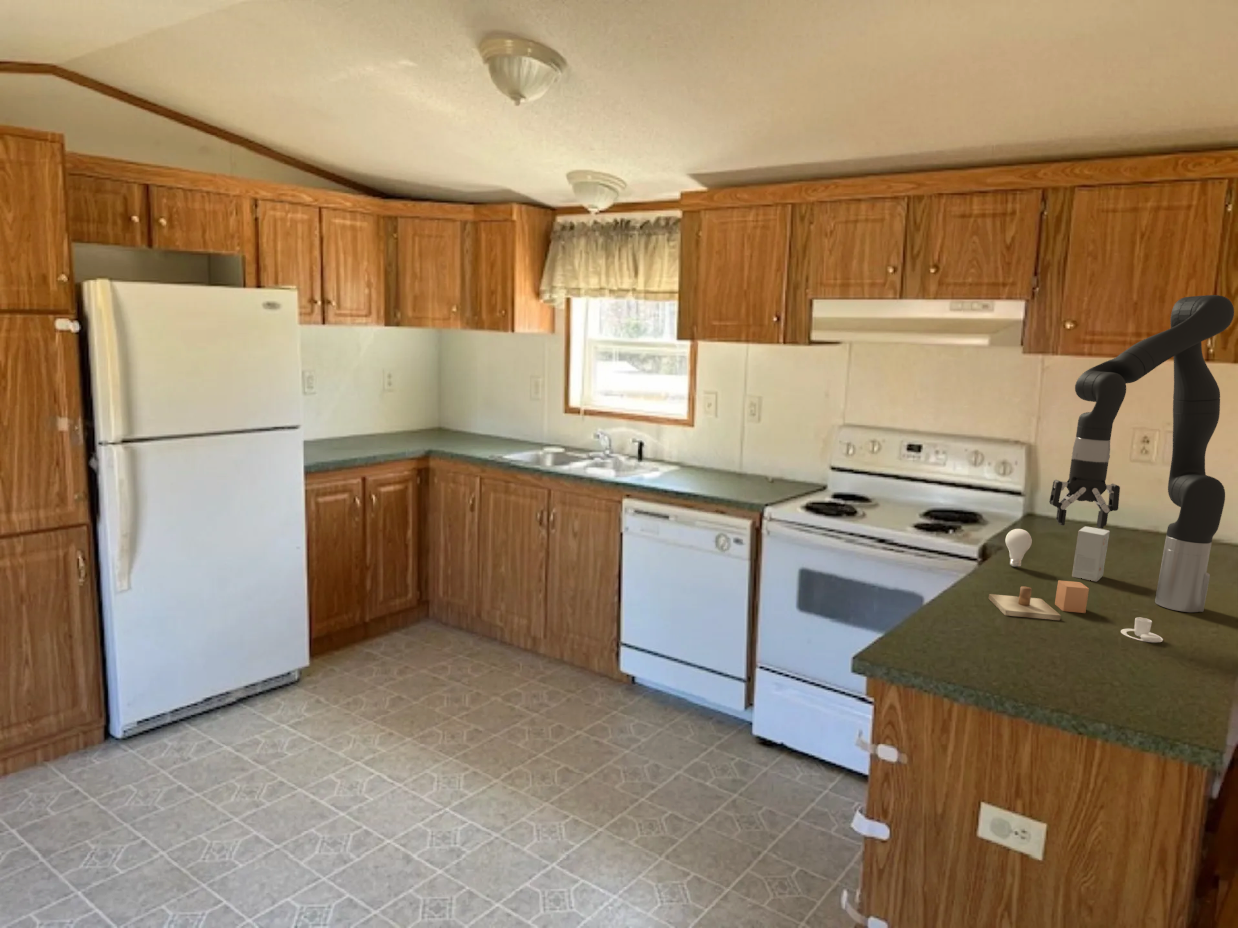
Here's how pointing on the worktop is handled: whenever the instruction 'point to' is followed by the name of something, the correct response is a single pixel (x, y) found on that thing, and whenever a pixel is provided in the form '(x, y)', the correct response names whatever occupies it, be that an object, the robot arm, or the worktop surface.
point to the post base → (1024, 605)
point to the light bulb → (1017, 545)
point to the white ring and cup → (1143, 631)
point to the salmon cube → (1071, 596)
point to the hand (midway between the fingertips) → (1080, 526)
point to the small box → (1090, 553)
